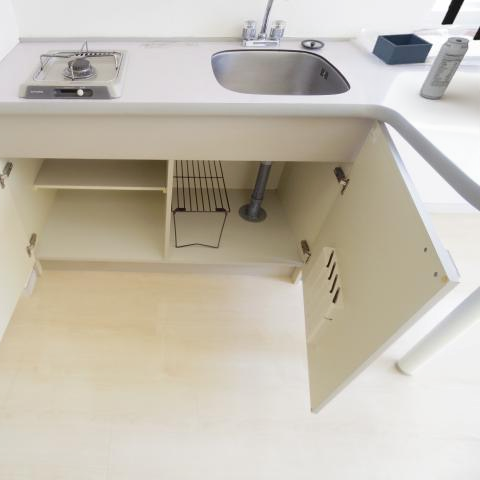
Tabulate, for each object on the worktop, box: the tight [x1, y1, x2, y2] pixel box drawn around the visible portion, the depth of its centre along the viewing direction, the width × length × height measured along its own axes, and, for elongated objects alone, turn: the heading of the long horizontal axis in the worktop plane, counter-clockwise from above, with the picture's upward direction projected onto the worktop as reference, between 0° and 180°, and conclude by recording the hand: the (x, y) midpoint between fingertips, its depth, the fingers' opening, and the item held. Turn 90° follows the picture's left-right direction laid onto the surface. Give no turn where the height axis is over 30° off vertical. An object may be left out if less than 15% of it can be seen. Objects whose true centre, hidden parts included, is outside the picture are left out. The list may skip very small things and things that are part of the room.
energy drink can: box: [419, 36, 470, 100], centre depth 98 cm, size 6×6×15 cm
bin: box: [372, 33, 434, 65], centre depth 123 cm, size 13×13×6 cm
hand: (461, 31), depth 91 cm, fingers open, 13 cm apart
